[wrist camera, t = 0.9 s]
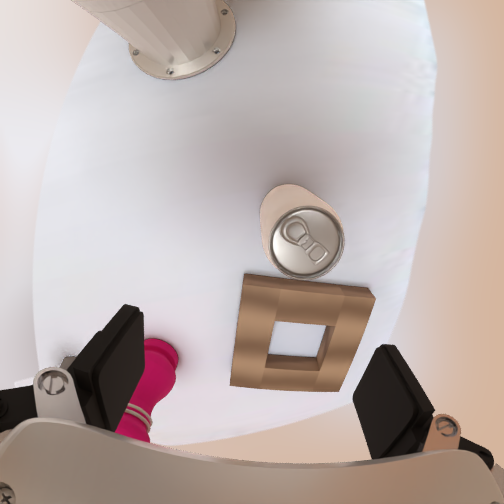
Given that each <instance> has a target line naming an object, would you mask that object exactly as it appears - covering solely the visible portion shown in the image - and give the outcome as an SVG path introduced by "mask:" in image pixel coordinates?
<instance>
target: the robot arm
mask: <svg viewBox="0 0 504 504" xmlns="http://www.w3.org/2000/svg"><path fill="white" fill-rule="evenodd" d="M71 1H73V2H75V3H76V4H77V5H79V6H80V7H82V8H83V9H85V10H86V11H87V12H89V13H90V14H91V15H93V16H94V17H96V18H97V19H98V20H100V21H101V22H102V23H104V24H105V25H106V26H108V27H109V28H111V29H112V30H113V31H114V32H116V33H117V34H118V35H120V36H121V37H122V38H124V39H125V40H126V41H127V42H129V52H130V56H131V58H132V60H133V62H134V63H135V65H136V66H137V67H138V68H140V69H141V70H142V71H143V72H145V73H146V74H148V75H151V76H153V77H155V78H160V79H169V80H175V79H183V78H187V77H191V76H194V75H197V74H199V73H201V72H203V71H205V70H207V69H208V68H210V67H212V66H213V65H214V64H216V63H217V62H218V61H219V60H220V59H221V58H222V57H223V56H224V55H225V54H226V52H227V51H228V50H229V48H230V46H231V44H232V42H233V39H234V36H235V28H236V25H235V19H234V16H233V13H232V11H231V9H230V8H229V6H228V5H227V4H226V3H225V2H224V1H223V0H71ZM224 14H226V15H224ZM216 52H220V53H218V54H215V53H216ZM138 53H139V54H138ZM137 54H138V55H137ZM171 72H173V74H171V75H170V73H171ZM144 369H145V351H144V315H143V312H140V310H139V308H138V307H135V306H131V305H127V304H124V305H123V306H122V307H121V309H120V310H119V311H118V312H117V313H116V314H115V316H114V317H113V318H112V319H111V320H110V322H109V323H108V324H107V325H106V326H105V328H104V329H103V330H102V331H98V332H97V333H96V334H95V335H94V336H93V338H92V339H91V340H90V341H89V343H88V344H87V345H86V346H85V347H84V349H83V350H82V351H81V352H80V354H79V355H78V356H77V357H76V358H75V360H74V361H73V362H72V364H71V365H70V366H69V367H68V369H67V370H64V369H62V368H58V367H49V368H45V369H43V370H41V371H39V372H38V373H37V374H36V376H35V378H34V381H33V385H31V386H25V387H19V388H13V389H6V390H0V504H504V469H503V468H501V467H500V466H499V465H498V464H495V465H494V459H493V456H492V454H491V452H490V451H489V450H487V449H486V448H484V447H482V446H480V445H477V444H475V443H473V442H471V441H469V440H467V439H465V438H463V437H461V436H460V434H461V428H460V425H459V423H458V422H457V421H456V420H455V419H454V418H453V417H451V416H449V415H446V414H439V415H436V416H435V417H433V415H432V414H433V412H434V411H435V409H434V407H433V406H432V404H431V402H430V400H429V399H428V397H427V396H426V394H425V392H424V391H423V389H422V387H421V385H420V384H419V382H418V380H417V379H416V378H415V376H414V374H413V372H412V371H411V369H410V368H409V366H408V364H407V363H406V361H405V360H404V359H403V357H402V355H401V354H400V352H399V350H398V349H397V347H396V346H395V345H388V344H382V345H381V346H380V347H378V348H376V350H375V352H374V354H373V356H372V358H371V360H370V362H369V364H368V366H367V368H366V370H365V372H364V374H363V376H362V378H361V380H360V382H359V384H358V386H357V388H356V390H355V391H354V394H353V403H354V405H355V408H356V411H357V414H358V417H359V420H360V423H361V427H362V430H363V433H364V436H365V439H366V442H367V445H368V448H369V452H370V455H371V458H372V460H364V461H355V462H342V463H318V464H293V463H268V462H255V461H244V460H236V459H227V458H220V457H214V456H208V455H202V454H196V453H191V452H186V451H181V450H177V449H172V448H168V447H164V446H160V445H156V444H152V443H148V442H145V441H141V440H137V439H134V438H131V437H127V436H124V435H121V434H118V433H114V432H115V431H116V429H117V427H118V425H119V423H120V421H121V418H122V416H123V414H124V412H125V410H126V408H127V406H128V403H129V401H130V399H131V397H132V395H133V393H134V391H135V389H136V387H137V385H138V383H139V381H140V379H141V377H142V375H143V372H144ZM493 465H494V466H493Z"/></svg>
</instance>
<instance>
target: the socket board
mask: <svg viewBox="0 0 504 504" xmlns="http://www.w3.org/2000/svg"><path fill="white" fill-rule="evenodd" d="M375 300H376V298H375V297H374V295H373V294H372V293H371V291H370V290H369V289H368V288H364V287H355V286H345V285H336V284H327V283H318V282H310V281H301V280H292V279H284V278H276V277H268V276H260V275H252V274H244V278H243V286H242V293H241V301H240V308H239V316H238V323H237V331H236V338H235V346H234V354H233V361H232V369H231V378H230V386H237V387H246V388H257V389H269V390H284V391H308V392H339V390H340V388H341V386H342V384H343V381H344V379H345V377H346V375H347V372H348V370H349V368H350V366H351V363H352V361H353V358H354V356H355V354H356V351H357V349H358V346H359V344H360V341H361V339H362V336H363V334H364V331H365V328H366V326H367V323H368V320H369V317H370V315H371V312H372V309H373V306H374V303H375ZM274 321H282V322H293V323H304V324H316V325H327V326H326V329H325V332H324V335H323V339H322V342H321V345H320V348H319V351H318V354H317V357H316V358H314V357H297V356H284V355H272V354H268V350H269V345H270V340H271V336H272V331H273V326H274Z"/></svg>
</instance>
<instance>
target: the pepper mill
mask: <svg viewBox="0 0 504 504" xmlns="http://www.w3.org/2000/svg"><path fill="white" fill-rule="evenodd" d="M144 351H145V369H144V372H143V375H142V377H141V379H140V381H139V383H138V385H137V387H136V389H135V391H134V393H133V395H132V397H131V399H130V401H129V403H128V406H127V408H126V410H125V412H124V414H123V416H122V418H121V421H120V423H119V425H118V427H117V429H116V431H115V432H114V433H118V434H121V435H124V436H127V437H131V438H134V439H137V440H141V441H145V442H148V443H150V438H149V435H148V433H149V431H150V427H151V426H152V419H151V417H150V416H151V412H152V410H153V408H154V406H155V405H156V403H158V402H159V401H160V400H161V399H163V398H164V397H165V396H166V395H167V394H168V393H169V392H170V391H171V390H172V388H173V386H174V384H175V380H176V375H175V370H176V367H177V364H178V356H177V353H176V351H175V350H174V348H172V347H171V346H170V345H169V344H168V343H166V342H164V341H162V340H159V339H147V340H144Z"/></svg>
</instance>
